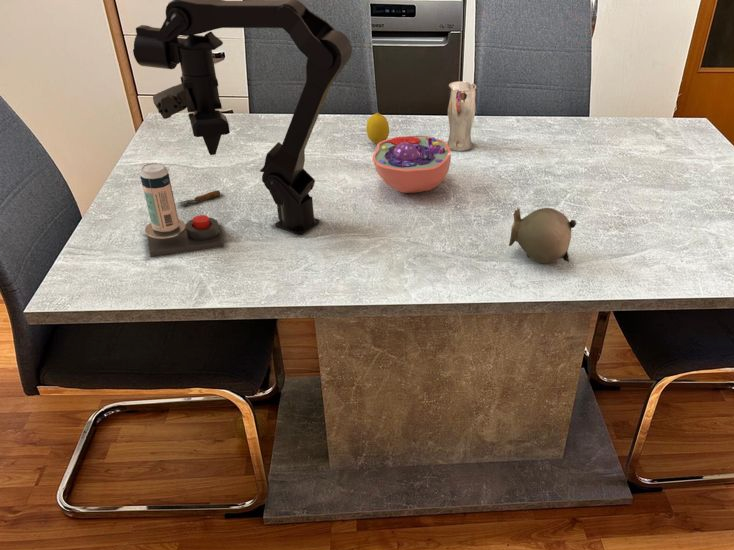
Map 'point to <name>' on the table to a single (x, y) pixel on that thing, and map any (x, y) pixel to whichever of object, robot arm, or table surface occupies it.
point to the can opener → (202, 197)
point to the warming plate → (163, 235)
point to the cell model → (412, 162)
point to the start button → (201, 222)
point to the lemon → (377, 128)
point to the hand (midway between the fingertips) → (212, 154)
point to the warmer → (187, 240)
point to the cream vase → (461, 114)
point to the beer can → (159, 197)
